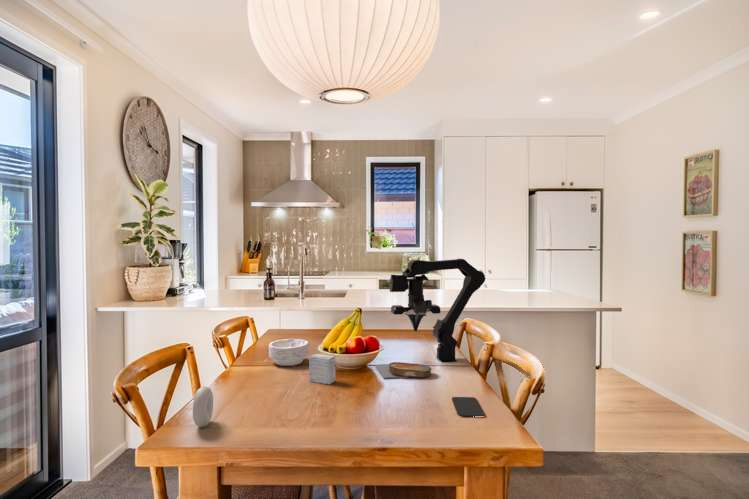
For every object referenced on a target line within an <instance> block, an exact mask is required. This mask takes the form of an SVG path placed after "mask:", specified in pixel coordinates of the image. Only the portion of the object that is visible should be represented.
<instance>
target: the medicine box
mask: <svg viewBox="0 0 749 499" xmlns="http://www.w3.org/2000/svg"><path fill="white" fill-rule="evenodd" d="M308 359H309V362H308V363H309V364H308V365H309V366H308V369H309V370H308V376H309V377H308V381H309V382H311V383H317V384H323V385H331V384H333V383H334V382H335V381H336V356H335V355H328V354H319V353H315V354H313V355H311V356H309V358H308Z"/></svg>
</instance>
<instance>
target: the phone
mask: <svg viewBox="0 0 749 499" xmlns="http://www.w3.org/2000/svg"><path fill="white" fill-rule="evenodd" d="M451 401H452V403H453V406H454V409H455V411H457V412H456V413H457V416H458V415H459V416H462V417H461V418H470V417H473V416H474V417H475V416H485V414H486V413H485V412H484V410H483V409H482V407H481V405H480V403H479V401H478V400H477V398H476V397H473V396H453V397H451ZM459 416H458V417H459ZM485 417H486V416H485Z"/></svg>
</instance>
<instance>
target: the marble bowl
mask: <svg viewBox="0 0 749 499" xmlns="http://www.w3.org/2000/svg"><path fill="white" fill-rule="evenodd" d="M309 350H310V349H309V341H307V340H305V339H300V338H286V339H285V338H284V339H277V340H274V341H272V342H270V343H269V344H268V357H269V358H270V359H272V360H273V361H274V363H275V364H276V365H277V366H283V367H291V366H292V367H293V366H296V365H297V366H298V365H300V364H301V363H303V361H304V359H305V358H306V357H308V356H309V352H310V351H309Z"/></svg>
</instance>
